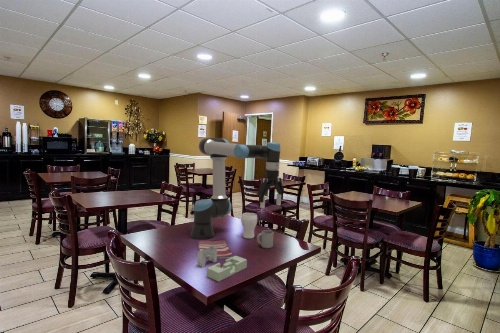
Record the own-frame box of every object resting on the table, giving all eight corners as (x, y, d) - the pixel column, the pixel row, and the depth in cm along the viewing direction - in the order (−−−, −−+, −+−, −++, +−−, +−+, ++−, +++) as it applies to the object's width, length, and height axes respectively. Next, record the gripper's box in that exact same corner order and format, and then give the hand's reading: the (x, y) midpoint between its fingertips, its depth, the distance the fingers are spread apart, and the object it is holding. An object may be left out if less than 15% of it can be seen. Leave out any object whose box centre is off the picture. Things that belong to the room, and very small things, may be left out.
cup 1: (259, 237, 186) (260, 215, 185) (246, 240, 180) (247, 217, 179) (250, 233, 195) (251, 211, 194) (237, 235, 189) (238, 213, 188)
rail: (218, 281, 124) (218, 272, 124) (206, 276, 129) (207, 267, 129) (246, 267, 140) (246, 259, 140) (235, 263, 145) (235, 255, 144)
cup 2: (273, 248, 168) (274, 233, 167) (256, 247, 168) (257, 233, 167) (272, 244, 175) (273, 230, 174) (256, 243, 175) (257, 229, 174)
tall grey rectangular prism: (202, 267, 138) (202, 253, 138) (197, 265, 140) (197, 251, 140) (216, 261, 146) (217, 248, 145) (211, 259, 148) (212, 246, 148)
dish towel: (225, 243, 175) (225, 239, 174) (232, 258, 152) (233, 253, 152) (197, 244, 170) (197, 240, 170) (201, 260, 148) (201, 255, 147)
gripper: (261, 171, 149) (260, 210, 150) (291, 169, 166) (289, 205, 168) (252, 169, 154) (250, 207, 156) (281, 168, 171) (279, 202, 173)
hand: (270, 206), depth 162 cm, fingers open, 13 cm apart
